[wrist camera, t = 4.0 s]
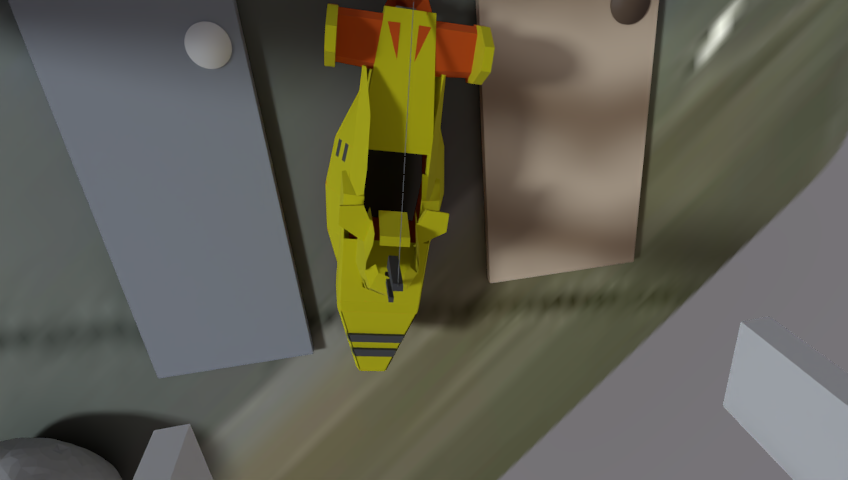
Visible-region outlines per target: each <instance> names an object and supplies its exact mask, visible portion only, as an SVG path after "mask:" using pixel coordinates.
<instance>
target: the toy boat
mask: <svg viewBox="0 0 848 480" xmlns="http://www.w3.org/2000/svg"><path fill="white" fill-rule="evenodd" d="M494 50H495V46H494V42H493V37H492V33H491V28H490V27H486V26H482V25H475V24H474V26H468V25H461V24H454V23H448V22H441V21H436V13H432V10H431V7H430V3H429V0H387V2H386V4H385V5H384V9H383V13H378V12H372V11H365V10H357V9H350V8H343V7H339V5H338V4H331V3H328V4H327V14H326V24H325V44H324V66H332V67H335V62H340V63H345V64H350V65H355V66H360V67H362V72H361V80H360V89H359V92H358V94H357V96H356V98H355V100H354V102H353V103H352V105H351V107H350V109H349V111H348V113H347V115H346V117H345V119H344V121H343V122H342V124H341V126H340V128H339V130H338V132H337V134H336V136H335V141H334V145H333V150H332V155H331V160H330V164H329V169H328V174H327V178H326V211H327V230H328V233H329V236H330V239H331V243H332V246H333V249H334V253H335V256H336V259H337V275H336V293H337V308H338V311H339V314H340V317H341V320H342V323H343V326H344V329H345V332H346V336H347V339H348V342H349V345H350V348H351V351H352V354H353V357H354V360H355V364H356V366H357V368H358V369H360V370H359V371H385V370H386V369H387V367H388V366H389V364H390V362H391V360H392V358H393V356H394V355H395V353H396V351H397V349H398V347H399V345H400V344H401V342H402V340H403V338H404V336H405V334H406V332H407V331H408V329H409V327H410V325H411V323H412V321H413V320H414V318H415V316H416V314H417V312H418V310H419V305H420V299H421V293H422V287H423V281H424V275H425V269H426V263H427V257H428V251H429V245H430V241H431V239H433V238H435V237H437V236H439V235H441V234H444V233H446V231H447V225H448V219H449V214H448V213H445V212H440V207H441V203H442V199H443V195H444V143H443V138H442V133H441V129H440V127H441V118H442V108H443V98H444V89H445V79H446V77H454V78H465V80H466V83H471V84H478V85H482V84H483V82H484V81H485V80H486V78H487V77H488V75H489V74H490V73H491V68H492V62H493V56H494ZM369 68H370V71H369ZM368 149H370V150H381V151H391V152H402V153H405V154H406V153H413V154H422V181H421V186H420V190H419V195H418V199H417V204H416V208H415V213H414V217H413V221H410V220H408V215H407V212H397V211H383V210H379V217H372V215H371V209H370V208H369V211H368V213H367V212H366V210H365V207H364V188H365V181H366V173H367V162H368ZM404 172H405V159H404ZM403 190H404V177H403ZM402 208H403V195H402Z"/></svg>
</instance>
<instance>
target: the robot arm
mask: <svg viewBox="0 0 848 480" xmlns="http://www.w3.org/2000/svg"><path fill="white" fill-rule="evenodd" d="M723 407H724V408H725V409H726V410H727V411H728V412H729V413H730V414H731V415H732V416H733V417H734V418H735V419H736V420H737V421H738V422H739V423H740V424H741V425H742V426H743V428H744V429H745V430H746V431H747V432H748V433H749V434H750V435H751V436H752V437H753V438H754V439H755V440H756V441H757V442H758V443H759V444H760V445H761V446H762V447H763V448H764V450H765V451H766V452H767V453H768V454H769V455H770V456H771V457H772V458H773V459H774V460H775V461H776V462H777V463H778V464H779V465H780V466H781V467H782V468H783V469H784V470H785V472H786V473H787V474H788V475H789V476H790V477H791V478H792V479H793V480H848V373H847V372H846V371H845V370H843V369H842V368H840V367H839V366H838V365H836V364H835V363H834V362H832V361H831V360H829V359H828V358H827V357H825V356H824V355H822V354H821V353H819V352H818V351H817V350H816V349H814V348H813V347H811V346H810V345H809V344H807V343H806V342H804V341H803V340H802V339H800V338H799V337H798V336H796V335H795V334H794V333H792V332H790V331H789V330H788V329H787V328H785V327H784V326H783V325H781V324H780V323H778V322H777V321H776V320H774V319H773V318H771V317H770V316H768V317H763V318H757V319H753V320H747V321H741V324H740V328H739V333H738V338H737V343H736V347H735V352H734V356H733V361H732V366H731V370H730V375H729V379H728V384H727V389H726V393H725V398H724V403H723ZM133 480H213V478H212V476H211V473H210V471H209V468H208V466H207V464H206V461H205V459H204V456H203V454H202V452H201V449H200V447H199V444H198V442H197V440H196V437H195V435H194V432H193V430H192V428H191V425H190V424H186V425H180V426H175V427H169V428H164V429H159V430H154V431H153V434H152V436H151V438H150V441H149V443H148V445H147V448H146V450H145V452H144V454H143V457H142V459H141V461H140V464H139V466H138V468H137V471H136V473H135V475H134V478H133Z"/></svg>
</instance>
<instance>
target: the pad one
mask: <svg viewBox="0 0 848 480" xmlns="http://www.w3.org/2000/svg"><path fill="white" fill-rule="evenodd" d="M8 2H9V5H10V7H11V10H12V12H13V15H14V17H15V20H16V22H17V25H18V27H19V30H20V32H21V35H22V37H23V40H24V42H25V45H26V47H27V50H28V52H29V55H30V57H31V60H32V62H33V65H34V67H35V70H36V72H37V75H38V77H39V80H40V82H41V85H42V88H43V90H44V93H45V95H46V98H47V100H48V103H49V105H50V108H51V110H52V113H53V115H54V118H55V120H56V123H57V125H58V128H59V130H60V133H61V135H62V138H63V140H64V143H65V145H66V148H67V150H68V153H69V155H70V158H71V160H72V163H73V165H74V168H75V170H76V173H77V176H78V178H79V181H80V183H81V186H82V188H83V191H84V193H85V196H86V198H87V201H88V203H89V206H90V208H91V211H92V213H93V216H94V218H95V221H96V223H97V226H98V228H99V231H100V233H101V236H102V238H103V241H104V243H105V246H106V248H107V251H108V253H109V256H110V259H111V261H112V264H113V266H114V269H115V271H116V274H117V276H118V279H119V281H120V284H121V286H122V289H123V291H124V294H125V296H126V299H127V301H128V304H129V306H130V309H131V311H132V314H133V316H134V319H135V321H136V324H137V326H138V329H139V331H140V334H141V336H142V339H143V341H144V344H145V347H146V349H147V352H148V354H149V357H150V359H151V362H152V364H153V367H154V369H155V372H156V374H157V377H158V378H164V377H170V376H176V375H183V374H189V373H195V372H202V371H208V370H214V369H220V368H227V367H233V366H239V365H246V364H252V363H258V362H264V361H271V360H277V359H283V358H289V357H296V356H302V355H308V354H313V350H314V347H313V342H312V338H311V333H310V329H309V324H308V320H307V315H306V311H305V306H304V302H303V298H302V293H301V289H300V284H299V280H298V275H297V271H296V266H295V262H294V257H293V253H292V249H291V244H290V240H289V235H288V231H287V226H286V222H285V217H284V213H283V208H282V204H281V200H280V195H279V191H278V186H277V182H276V177H275V173H274V168H273V164H272V159H271V155H270V151H269V146H268V142H267V137H266V133H265V128H264V124H263V119H262V115H261V111H260V106H259V102H258V97H257V93H256V88H255V84H254V79H253V75H252V70H251V66H250V62H249V57H248V53H247V48H246V44H245V39H244V35H243V30H242V26H241V21H240V17H239V13H238V8H237V4H236V0H9V1H8Z"/></svg>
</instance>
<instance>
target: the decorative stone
mask: <svg viewBox="0 0 848 480" xmlns="http://www.w3.org/2000/svg"><path fill="white" fill-rule="evenodd" d="M0 480H122V478H121V477H120V475H119V473H118V471H117V470H116V469H115V467H114V466H113V465H112V464H111V463H109V462H108V461H106V460H105V459H104V458H102V457H101V456H99V455H97V454H96V453H94V452H91V451H89V450H87V449H85V448H82V447H79V446H76V445H74V444H71V443H67V442H62V441H59V440H57V439H51V438H15V439H10V440H6V441H1V442H0Z"/></svg>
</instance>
